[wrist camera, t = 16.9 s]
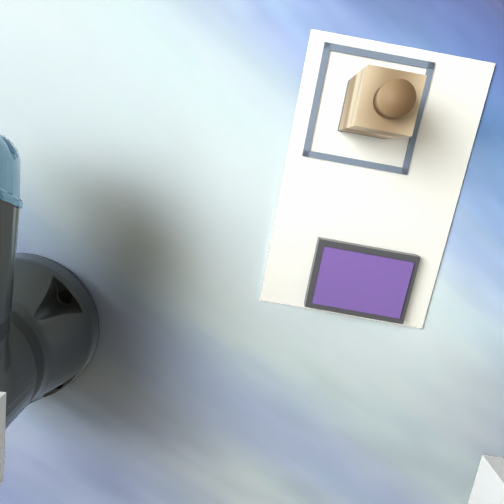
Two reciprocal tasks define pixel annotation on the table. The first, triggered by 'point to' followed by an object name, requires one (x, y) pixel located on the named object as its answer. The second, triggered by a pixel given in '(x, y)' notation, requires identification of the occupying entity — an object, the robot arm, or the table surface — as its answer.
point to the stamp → (382, 102)
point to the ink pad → (361, 280)
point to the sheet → (373, 166)
